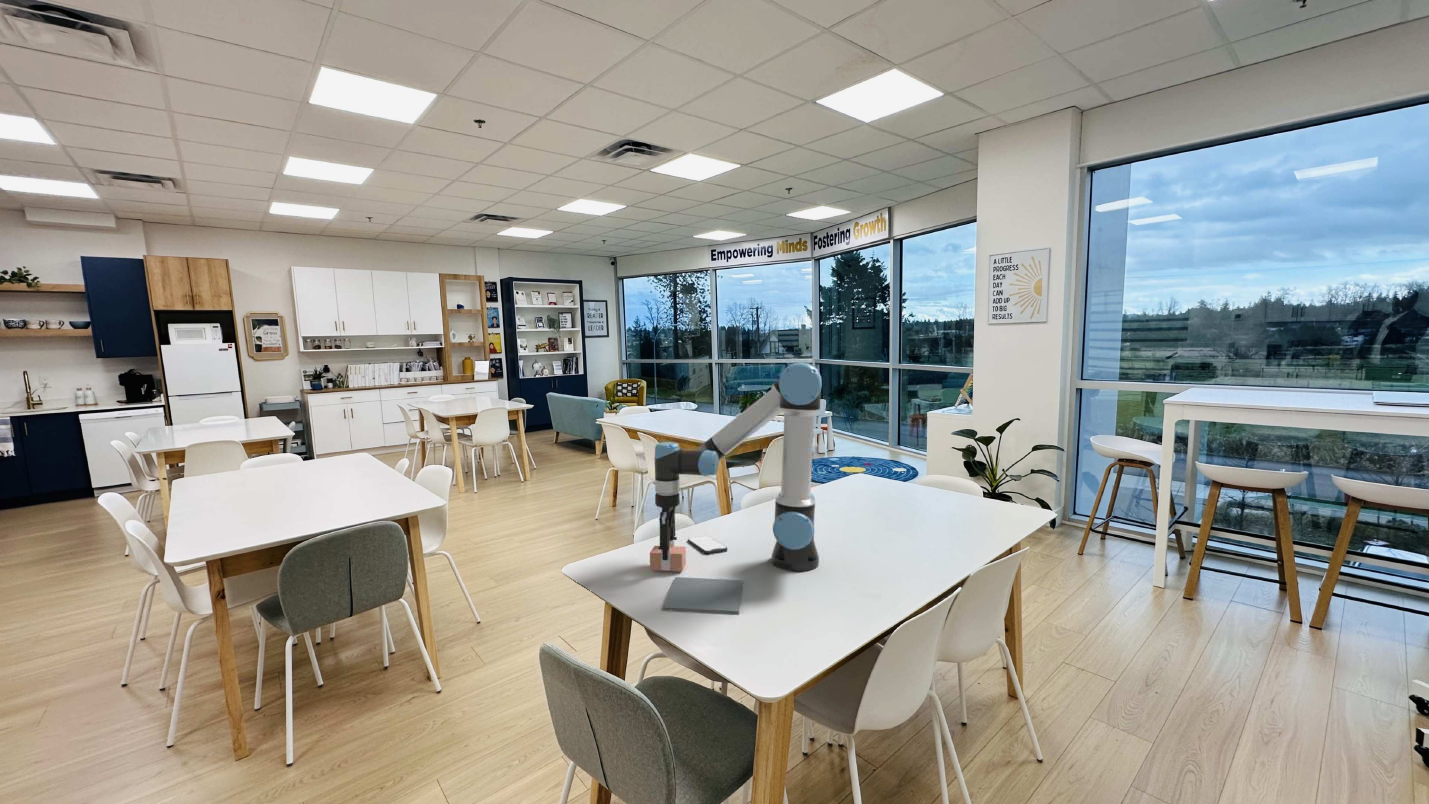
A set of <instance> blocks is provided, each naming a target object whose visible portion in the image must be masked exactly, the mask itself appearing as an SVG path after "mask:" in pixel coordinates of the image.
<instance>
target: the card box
mask: <svg viewBox="0 0 1429 804" xmlns="http://www.w3.org/2000/svg"><path fill="white" fill-rule="evenodd" d="M658 547H660V545H654V546H653V547H652V549H651V551H650V552H649V570H650V571H659V572H660V571H664V572H665V571H666V572H683V571H684V568H685V566H686V562H687V560H686V556H687V555H686V553H687V552H686V546H679V545H678V546H676V545H674V546H669V547H670V570H661V550H659V549H658Z"/></svg>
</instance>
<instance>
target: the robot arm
mask: <svg viewBox="0 0 1429 804" xmlns="http://www.w3.org/2000/svg"><path fill="white" fill-rule="evenodd" d="M822 382H823V381H822V375H821V374H820V371H819V370H818V369H817V368H816V366H814V365H813V364H811V363H808V362H805V361H800V362H798V361H797V362H794V363H791V364H789V365H787V367H786V368H785V369H784V370H782V372H781V374H780V377H779V379H777V380H776V381H775V382H774V383H773V384H772V388H771V389H770V390H769V391H768V392H766V393H765V394H764V395H763V396H762V397H759V399H758V400H757V401H755V402H754V403H752V404H751V405H750V406H749V407H748V408H746V409H745V410H743V412H741V413H740V414H739V415H738V416H736V417H735V418H734V419H733V420H731V421H730V422H729V423H728V424H726V425H724V426H723V427H722V428H721V429H720V430H719V431H717V432H716V433H715V434H713V435H712V436H711V437H710V438H708V439H707V440H706V441H705V442H704V443H702V444H701V445H699V446H698V447H697V448H696V449H693V450H692V449H681V448H680V444H679V443H677V442H673V441H663V442H658V443H657V444H656V445H655V447H654V458H653V459H654V479H655V481H654V482H653V483H652V484H653V485H654V487H655V488H654V491H655V494H654V503H655V504H654V505H655V506H656V507H658V508H661V511H660V513H659V518H658V519H659V520H658V521H659V546H660V547H658V549H659V550H661V570H670V547H669V546H675V541H677V539H678V536H676V507H678V506H679V505H680V493H679V492H680V489H681V488H680V486H681V485H680V475H685V476H687V475H690V476H692V475H693V476H705V477H707V476H715V475H717V473H718V471H719V461H720V460H722V459H723V458H724V457H726V456H727V455H728V454H730V453H731V452H732V451H733V450H734V449H736V448H737V447H738V446H739V445H741V444H742V443H743V442H745V441H746V440H747V439H749V438H750V437H751V436H752V435H754V434H755V433H756V432H758V431H759V430H760V429H761V428H763V427H764V426H765V425H767V424H768V423H769V422H770V421H772V420H773V419H774V418H776V417H777V416H778V415H780V414H781V413H783V414H784V417H783V418H784V420H783V438H782V439H783V440H782V441H783V442H782V462H781V465H782V466H781V481H780V483H781V486H780V492H779V493H778V495H777V497H775V500H774V501H775V504H774V505H775V506H774V521H773V524H772V532H773V533H772V534H773V536H774V539H775V541H776V542H775V544H774V547H773V549H772V553H771V563H772V564H773V566H775V567H777V568H779V569H782V570H785V571H793V572H804V571H811V570H813V569H816V568H817V567H819V565H820V557H819V553H818V549H817V546H816V542H815V539H814V538H815V513H816V512H815V509H816V501H815V495H814V494H813V493H811V491H812V490H811V489H812V488H811V487H812V485H811V484H812V467H813V463H812V462H813V446H814V445H813V444H814V428H815V427H814V426H815V425H814V424H815V415H816V414H817V413H818V412H820V409H821V394H822V392H821V391H822V386H823V383H822Z"/></svg>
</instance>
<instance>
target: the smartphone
mask: <svg viewBox="0 0 1429 804" xmlns="http://www.w3.org/2000/svg"><path fill="white" fill-rule="evenodd" d="M687 542H689V544H690V545H691V546H692V545H693V546H692V547H694V548H695V549H696V550H698V551H700V552H701V554H703V553H704V554H703V555H706V556H711V555H714V554H715V553H716V554H722V553H726V552H727V551H728V547H727V546H725V545H724V544H722V543H720V542H719V541H717V540H715V539H714V538H712V537H711V536H709V535H702V536H698V537H697V536H696V537H689V538H688V539H687ZM710 554H711V555H710Z"/></svg>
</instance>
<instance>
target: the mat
mask: <svg viewBox="0 0 1429 804" xmlns="http://www.w3.org/2000/svg"><path fill="white" fill-rule="evenodd" d="M743 582H744V580H743V579H728V578H727V579H726V578H725V579H724V578H703V577H701V578H700V577H681V576H675V577H674V579H673V582H672V584H671V587H670V589H669V592H668V593H667V596H666V598H665V600H664V603H663V604H662V611H668V610H672V611H671V612H673V610H674V612H686V611H690V613H705V614H707V613H708V614H727V615H729V614H730V615H739V614H740V605H741V600H742V599H741V598H742V590H743V584H744V583H743Z"/></svg>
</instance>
